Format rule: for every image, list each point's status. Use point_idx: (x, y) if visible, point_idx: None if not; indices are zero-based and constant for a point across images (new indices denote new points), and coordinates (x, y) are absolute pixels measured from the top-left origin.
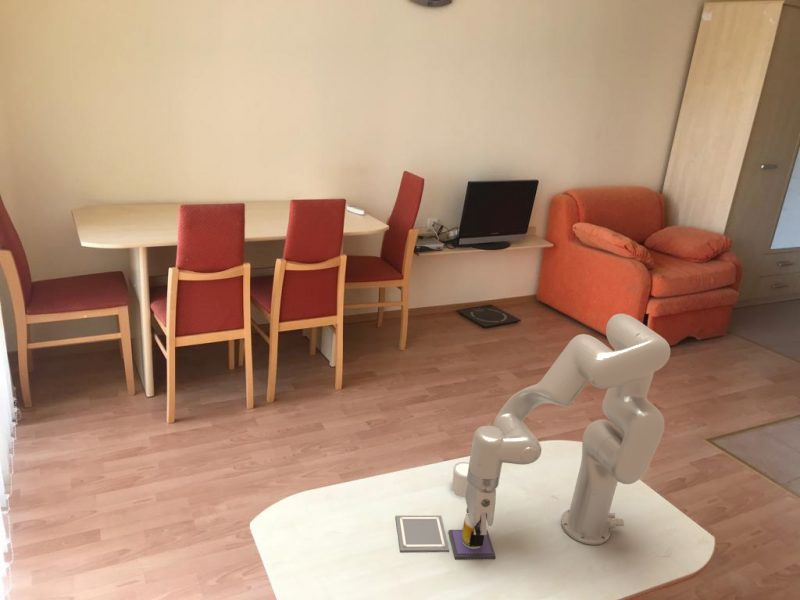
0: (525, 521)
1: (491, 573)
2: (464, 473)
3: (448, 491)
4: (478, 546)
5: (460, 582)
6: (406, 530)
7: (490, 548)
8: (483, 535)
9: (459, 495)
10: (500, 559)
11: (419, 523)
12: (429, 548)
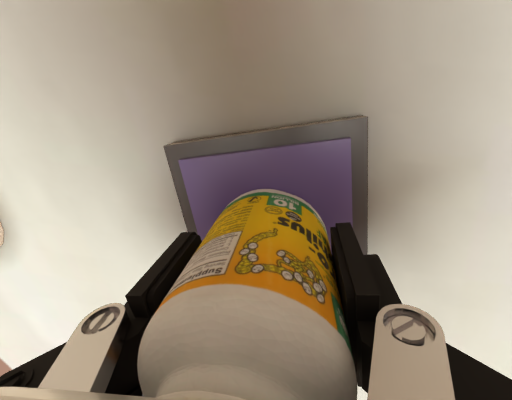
0: None
1: (472, 148)
2: None
3: (4, 267)
4: (321, 223)
5: (506, 297)
6: None
7: (311, 145)
8: (371, 282)
9: (2, 234)
10: (363, 81)
11: None
12: None
